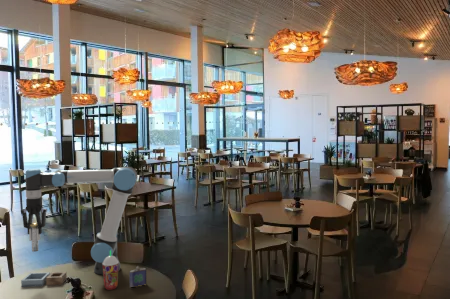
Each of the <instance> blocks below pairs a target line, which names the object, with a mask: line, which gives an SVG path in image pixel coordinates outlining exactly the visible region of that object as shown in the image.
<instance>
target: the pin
mask: <svg viewBox="0 0 450 299" xmlns="http://www.w3.org/2000/svg"><path fill="white" fill-rule="evenodd" d="M30 227H31V233H32V240H31V251H32V252H33V253H34V252H38V251H39V240H38V241H37V228H38V224H37V222H32V223H31V224H30Z"/></svg>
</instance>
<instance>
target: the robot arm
mask: <svg viewBox="0 0 450 299" xmlns="http://www.w3.org/2000/svg"><path fill="white" fill-rule="evenodd" d="M137 181H138V173H137V170H136V169H135V168H133V166H122V167H113V168H112V169H73V170H72V169H70V170H66V169H65V170H64V169H58V170H55V171H53V172H42V171H41V169H39V168H38V169H37V168H34V169H33V168H32V169H30V168H29V169H27V170H25V197H26V199H25V202H26V203H25V204H26V205H25V208H24V209H21V210H20V212H21V216H22V222H23V225H22V226H23V228H26V229H27V235H29V238H28V239H29V241H31V242H32V233H31V227H30V224H31V223H33V217H34V216H35V219H36V223H37V224H38V228H37V241H38V242H39V241H40V240H41V234H42V233H43V228H44V227H45V226H46V220H47V219H46V217H47V212H48V208H43V206H42V203H43V202H42V187H63V186H64V184H86V183H87V184H91V183H98V184H99V183H112V185H111V190H112V195H111V198H110V201H109V204H108V206H107V211H106V214H105V217H104V220H103V223H102V226H101V230H100V232H97V233H96V237H95V239H94V244H93V245H92V247H91V250H90V256H91V258H92V259H93V261H95V264H94V266H93V267H94V268H93V269H94V270H93V272H94V273H95V274H97V275H103V264H102V263H103V261H104V259H105V258H106V257H107V256H110V251H111V256H115V257H116V258H117V260H118V261H119V266H118V272H119V271H120V270H121V269H120V268H121V263H120V260H119V257H118V235H117V233H118V231H119V230H118V229H119V227H120V223H121V220H122V217H123V214H124V211H125V207H126V204H127V201H128V197H129V196H131V195H132V194H133V191H134V188H135V185H136V182H137ZM27 213H28V215H27Z"/></svg>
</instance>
